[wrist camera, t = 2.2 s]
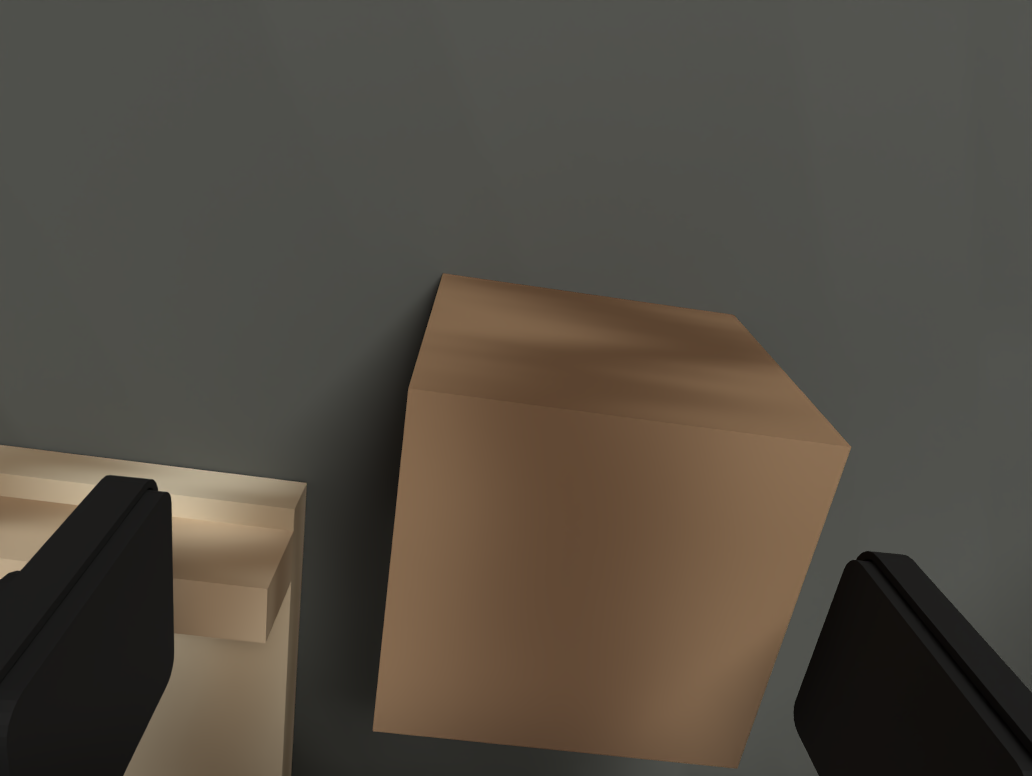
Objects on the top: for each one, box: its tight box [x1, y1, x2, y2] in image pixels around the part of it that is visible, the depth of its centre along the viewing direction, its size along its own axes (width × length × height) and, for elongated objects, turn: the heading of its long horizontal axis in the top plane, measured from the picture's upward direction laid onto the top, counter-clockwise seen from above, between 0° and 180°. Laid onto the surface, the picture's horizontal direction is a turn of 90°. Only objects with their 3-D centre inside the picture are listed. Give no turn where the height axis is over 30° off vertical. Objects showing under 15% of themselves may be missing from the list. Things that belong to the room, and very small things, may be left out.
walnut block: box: [373, 274, 851, 768], centre depth 13 cm, size 6×6×6 cm
